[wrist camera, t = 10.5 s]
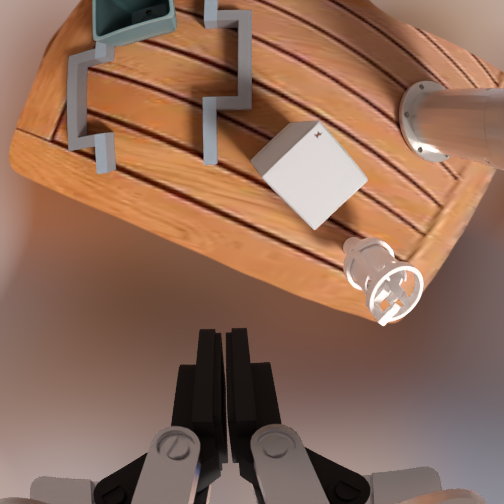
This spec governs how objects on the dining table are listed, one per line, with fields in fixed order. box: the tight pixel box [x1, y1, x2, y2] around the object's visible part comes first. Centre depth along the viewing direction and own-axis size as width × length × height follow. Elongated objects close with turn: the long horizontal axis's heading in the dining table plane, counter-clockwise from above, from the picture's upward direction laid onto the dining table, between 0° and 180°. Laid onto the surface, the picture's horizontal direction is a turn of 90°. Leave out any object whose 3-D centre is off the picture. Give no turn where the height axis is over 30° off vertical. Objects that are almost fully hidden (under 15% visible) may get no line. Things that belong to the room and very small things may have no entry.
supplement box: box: [250, 121, 368, 230], centre depth 30 cm, size 7×7×13 cm
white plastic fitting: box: [343, 237, 423, 326], centre depth 35 cm, size 7×7×15 cm
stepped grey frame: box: [67, 0, 252, 174], centre depth 28 cm, size 23×28×3 cm
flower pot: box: [92, 0, 177, 46], centre depth 23 cm, size 9×9×9 cm
